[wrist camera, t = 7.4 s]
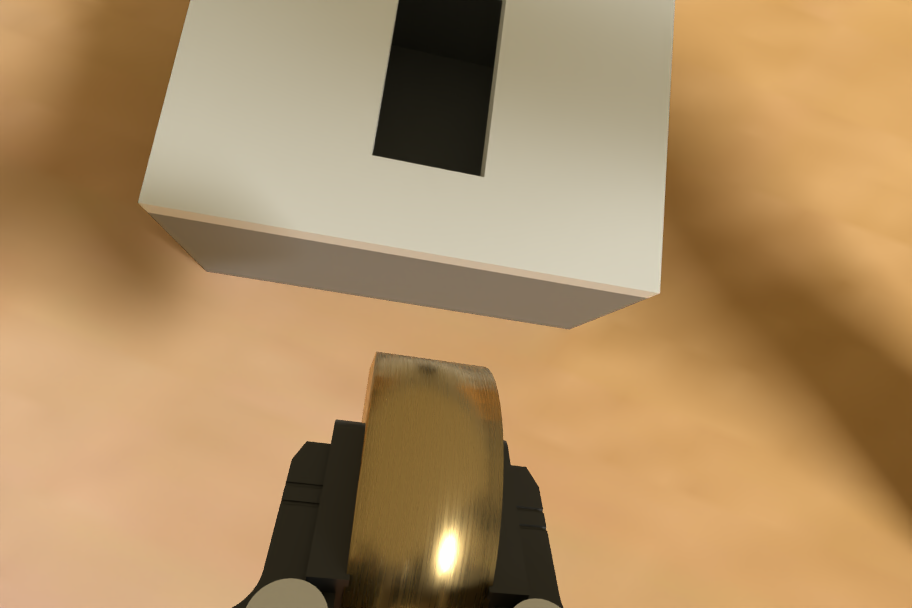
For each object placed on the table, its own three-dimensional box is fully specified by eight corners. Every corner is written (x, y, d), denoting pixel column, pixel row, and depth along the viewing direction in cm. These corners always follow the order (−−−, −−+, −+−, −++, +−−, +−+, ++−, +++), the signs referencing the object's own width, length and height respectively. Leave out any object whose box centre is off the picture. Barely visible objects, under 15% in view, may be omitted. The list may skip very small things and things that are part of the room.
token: (444, 379, 18) (517, 354, 10) (419, 579, 17) (479, 736, 9) (369, 369, 18) (382, 335, 10) (338, 573, 17) (322, 729, 9)
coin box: (590, 81, 36) (676, -40, 27) (569, 329, 33) (659, 293, 23) (266, 7, 33) (231, -159, 24) (206, 271, 30) (137, 202, 20)
